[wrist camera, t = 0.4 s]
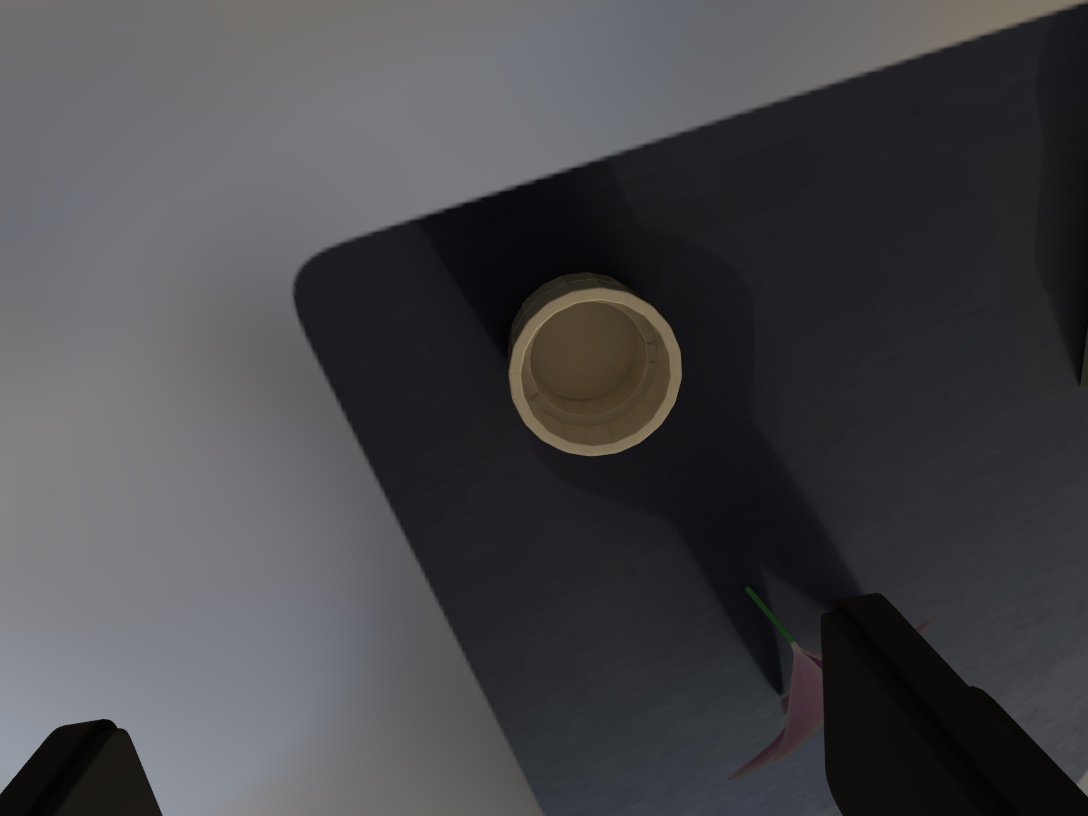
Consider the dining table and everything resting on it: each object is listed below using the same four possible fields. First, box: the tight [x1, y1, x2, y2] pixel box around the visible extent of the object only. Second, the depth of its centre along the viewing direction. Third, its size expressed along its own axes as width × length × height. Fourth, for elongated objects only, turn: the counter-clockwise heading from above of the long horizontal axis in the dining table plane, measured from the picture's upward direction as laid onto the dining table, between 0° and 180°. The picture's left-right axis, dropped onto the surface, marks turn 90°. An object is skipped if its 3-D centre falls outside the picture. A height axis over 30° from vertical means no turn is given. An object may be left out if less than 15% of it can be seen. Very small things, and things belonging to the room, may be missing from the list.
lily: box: [728, 586, 937, 780], centre depth 36 cm, size 12×12×10 cm
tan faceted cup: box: [508, 272, 682, 456], centre depth 31 cm, size 7×7×6 cm
